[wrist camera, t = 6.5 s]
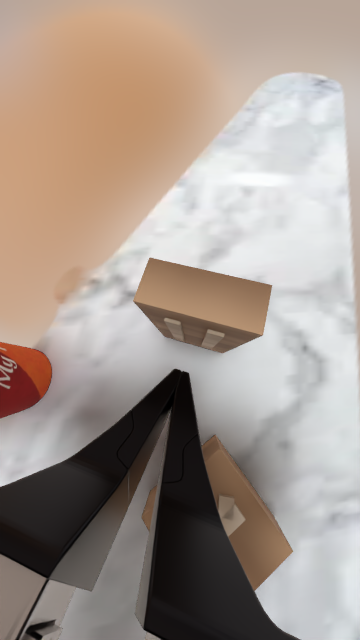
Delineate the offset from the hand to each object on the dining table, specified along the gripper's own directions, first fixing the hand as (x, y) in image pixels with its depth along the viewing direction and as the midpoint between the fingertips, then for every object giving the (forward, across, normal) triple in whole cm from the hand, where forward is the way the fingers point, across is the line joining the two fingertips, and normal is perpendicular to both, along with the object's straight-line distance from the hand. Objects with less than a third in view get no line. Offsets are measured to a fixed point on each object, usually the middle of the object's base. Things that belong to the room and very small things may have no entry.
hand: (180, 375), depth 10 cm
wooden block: (+8, 0, +2) cm, 8 cm away
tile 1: (-1, -5, +12) cm, 13 cm away
